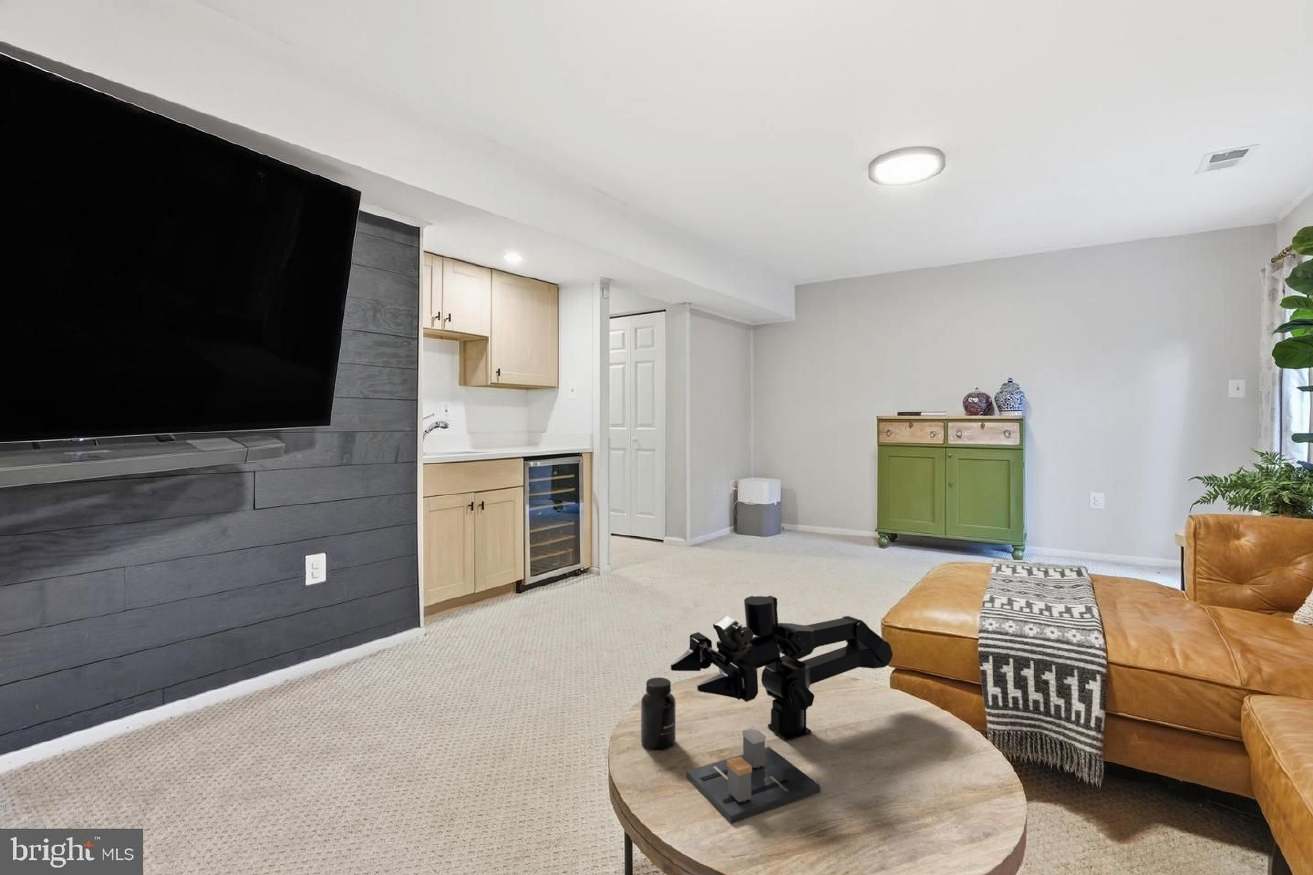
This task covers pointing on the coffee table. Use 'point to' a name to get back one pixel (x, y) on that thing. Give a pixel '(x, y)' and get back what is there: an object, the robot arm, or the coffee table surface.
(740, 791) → the fader
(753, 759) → the fader
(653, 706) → the supplement bottle
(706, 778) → the board
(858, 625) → the robot arm
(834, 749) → the coffee table surface
